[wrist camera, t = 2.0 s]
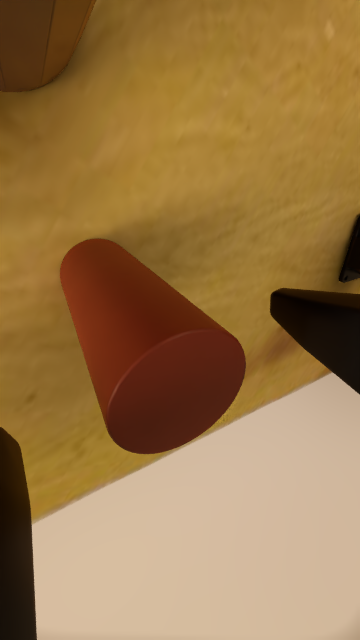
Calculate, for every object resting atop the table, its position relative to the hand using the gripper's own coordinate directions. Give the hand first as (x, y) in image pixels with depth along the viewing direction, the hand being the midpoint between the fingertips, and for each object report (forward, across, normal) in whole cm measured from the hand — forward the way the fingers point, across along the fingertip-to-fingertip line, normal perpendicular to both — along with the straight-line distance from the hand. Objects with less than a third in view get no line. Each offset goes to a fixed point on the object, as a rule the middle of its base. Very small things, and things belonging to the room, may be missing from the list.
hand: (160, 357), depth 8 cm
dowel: (+8, 0, 0) cm, 8 cm away
